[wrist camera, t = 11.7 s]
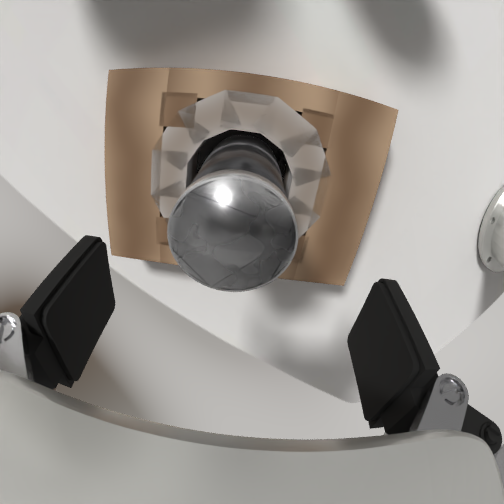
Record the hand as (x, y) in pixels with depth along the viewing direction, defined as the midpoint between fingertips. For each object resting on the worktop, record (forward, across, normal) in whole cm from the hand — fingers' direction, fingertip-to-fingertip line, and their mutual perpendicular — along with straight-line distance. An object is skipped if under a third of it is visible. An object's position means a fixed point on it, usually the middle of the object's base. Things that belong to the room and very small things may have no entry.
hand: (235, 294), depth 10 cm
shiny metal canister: (+16, +1, 0) cm, 16 cm away
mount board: (+16, +1, 0) cm, 16 cm away
